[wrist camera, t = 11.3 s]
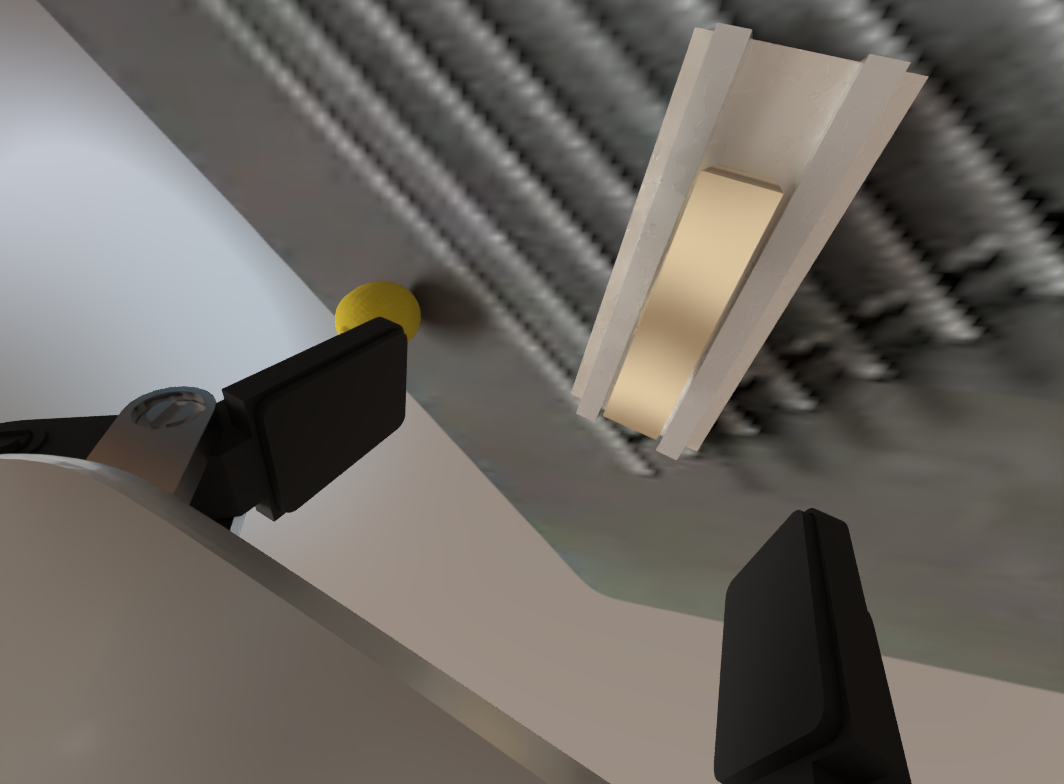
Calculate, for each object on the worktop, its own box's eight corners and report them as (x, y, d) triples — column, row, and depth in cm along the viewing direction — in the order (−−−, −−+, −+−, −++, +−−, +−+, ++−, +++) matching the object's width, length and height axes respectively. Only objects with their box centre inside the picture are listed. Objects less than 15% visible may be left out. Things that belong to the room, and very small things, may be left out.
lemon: (445, 291, 35) (376, 323, 28) (431, 344, 38) (367, 383, 32) (392, 258, 35) (313, 282, 29) (383, 313, 39) (311, 345, 32)
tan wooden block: (717, 164, 22) (701, 170, 16) (776, 180, 21) (783, 193, 15) (636, 357, 29) (602, 415, 23) (679, 374, 28) (656, 439, 22)
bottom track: (698, 32, 21) (690, 16, 18) (919, 80, 18) (945, 69, 16) (576, 387, 33) (561, 406, 31) (698, 442, 31) (693, 467, 29)
